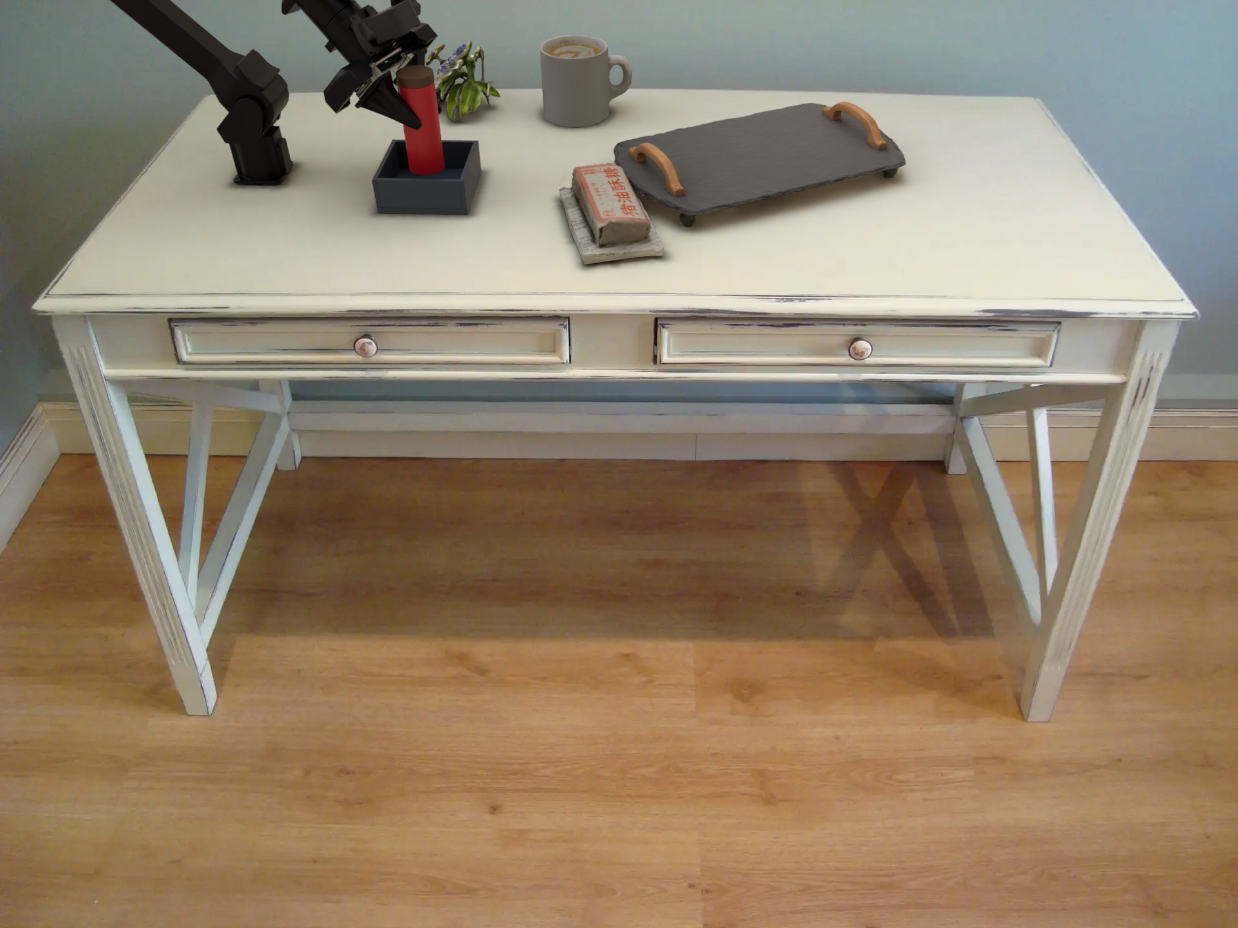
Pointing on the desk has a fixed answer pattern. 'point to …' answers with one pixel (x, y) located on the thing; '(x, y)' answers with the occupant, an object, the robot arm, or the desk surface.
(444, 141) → the desk bin
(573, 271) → the desk surface
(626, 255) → the packaged product
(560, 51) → the coffee mug
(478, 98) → the passion flower
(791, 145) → the serving tray
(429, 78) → the candy tube
